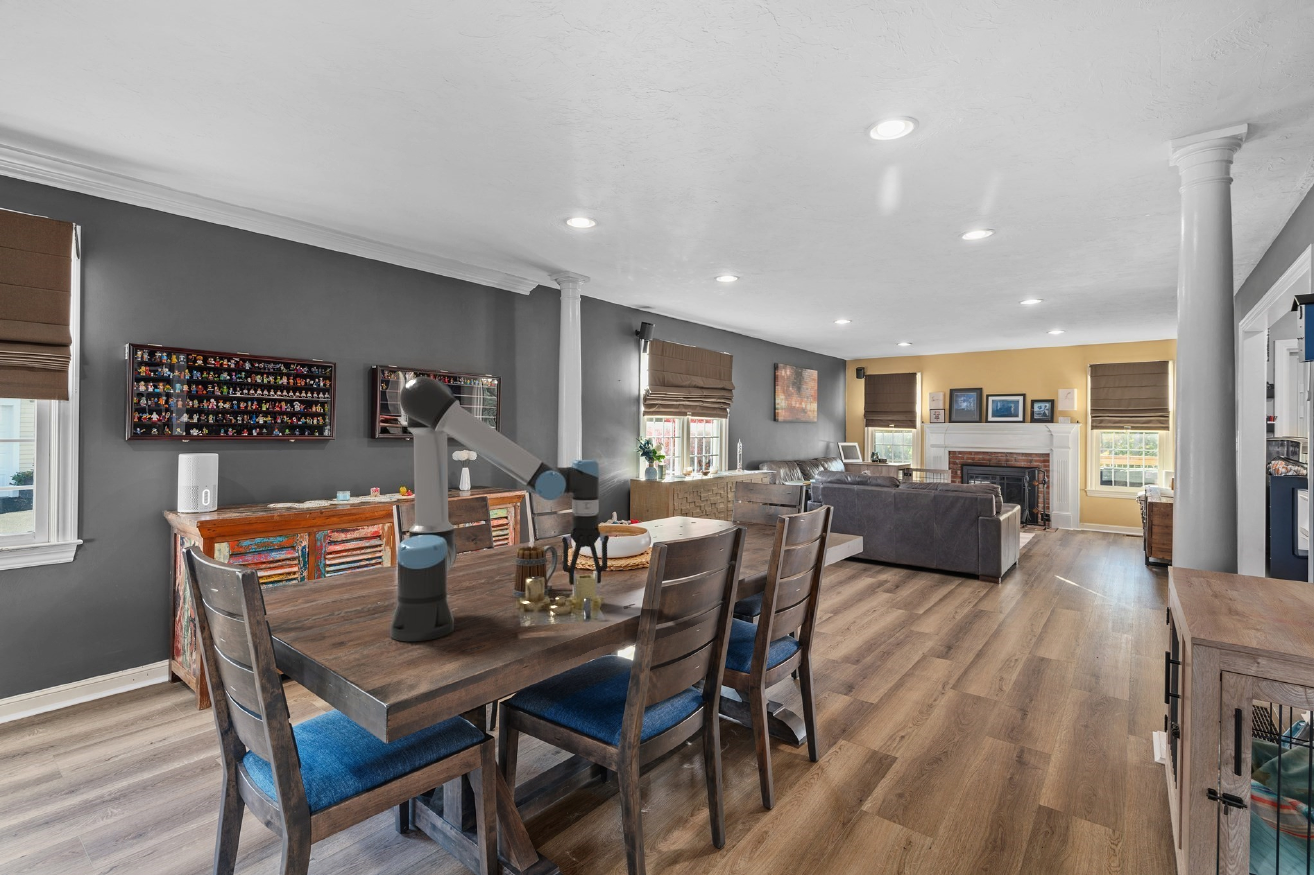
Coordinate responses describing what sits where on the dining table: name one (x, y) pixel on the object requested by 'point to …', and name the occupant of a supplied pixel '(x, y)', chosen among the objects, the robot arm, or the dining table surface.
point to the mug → (533, 567)
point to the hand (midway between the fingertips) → (584, 595)
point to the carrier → (551, 607)
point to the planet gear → (585, 593)
